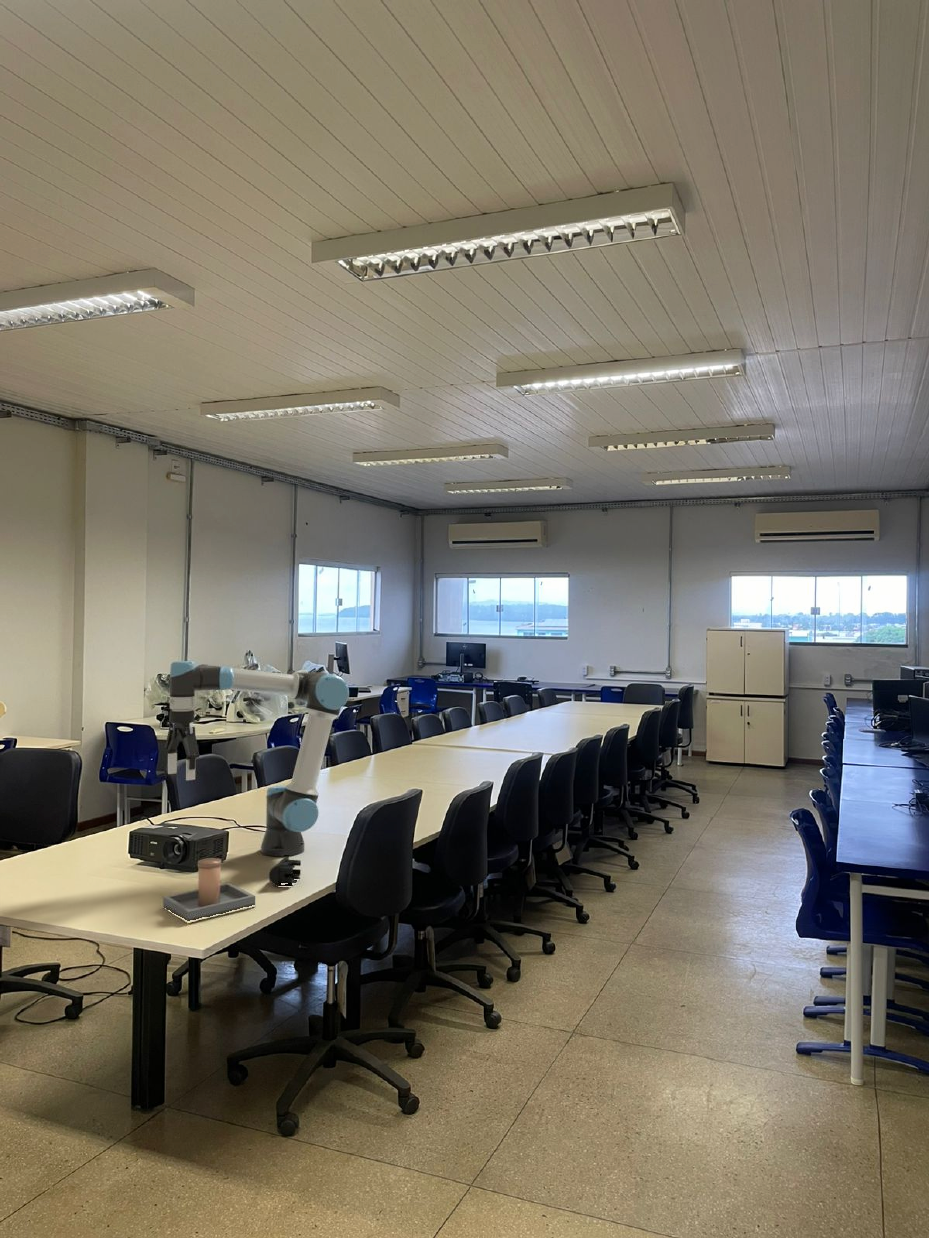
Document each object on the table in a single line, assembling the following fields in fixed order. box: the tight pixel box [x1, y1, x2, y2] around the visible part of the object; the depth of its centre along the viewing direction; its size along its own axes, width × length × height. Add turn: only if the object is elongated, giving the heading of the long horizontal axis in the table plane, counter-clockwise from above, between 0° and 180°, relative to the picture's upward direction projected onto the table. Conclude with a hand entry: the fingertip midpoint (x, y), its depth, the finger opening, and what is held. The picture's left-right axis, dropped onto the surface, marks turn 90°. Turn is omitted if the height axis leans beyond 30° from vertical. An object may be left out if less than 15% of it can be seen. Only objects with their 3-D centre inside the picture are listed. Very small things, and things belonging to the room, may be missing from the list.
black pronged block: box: [268, 856, 302, 887], centre depth 262 cm, size 10×7×7 cm
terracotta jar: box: [197, 857, 222, 907], centre depth 238 cm, size 6×6×12 cm
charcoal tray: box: [162, 882, 256, 921], centre depth 238 cm, size 20×16×3 cm
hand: (181, 776), depth 267 cm, fingers open, 13 cm apart
